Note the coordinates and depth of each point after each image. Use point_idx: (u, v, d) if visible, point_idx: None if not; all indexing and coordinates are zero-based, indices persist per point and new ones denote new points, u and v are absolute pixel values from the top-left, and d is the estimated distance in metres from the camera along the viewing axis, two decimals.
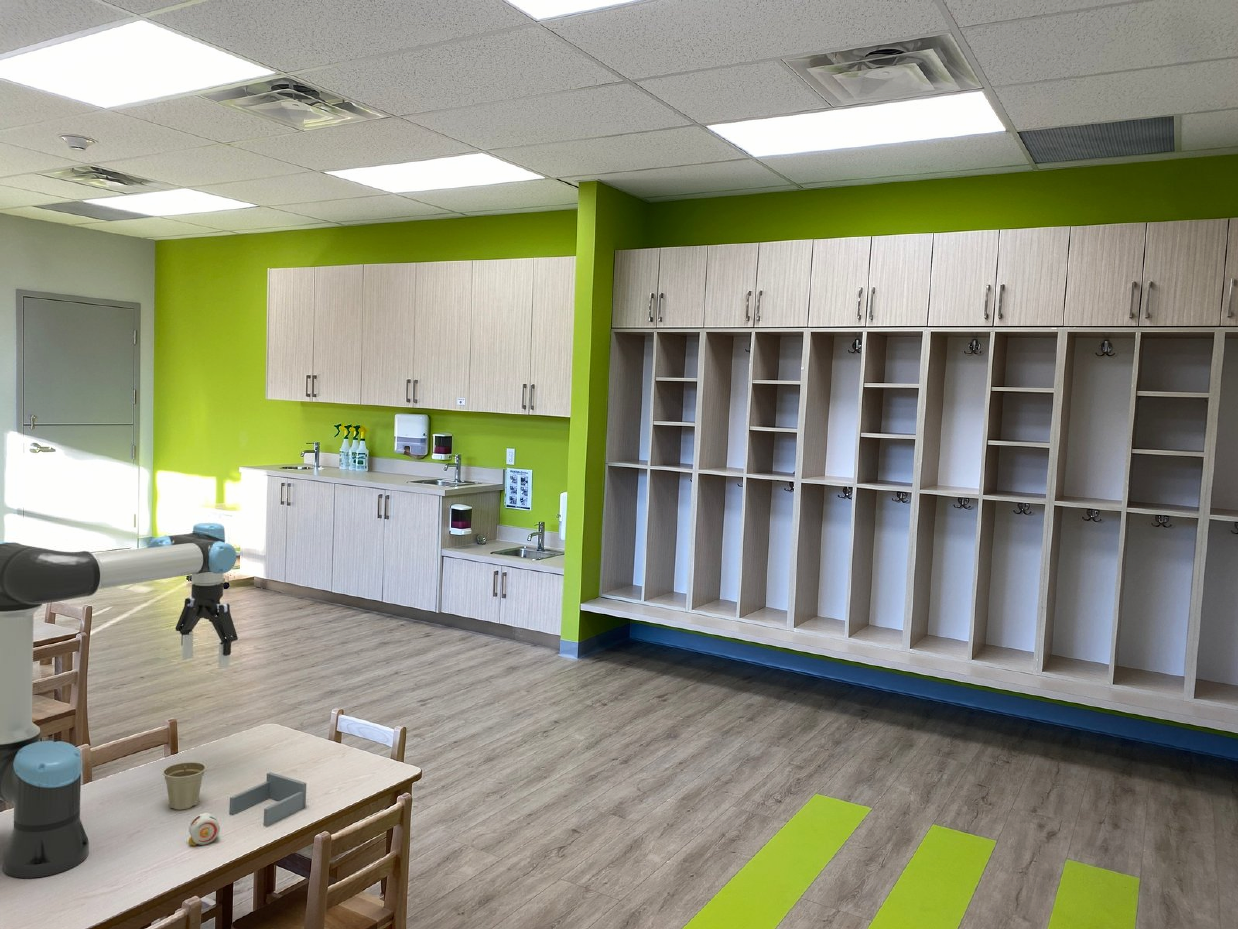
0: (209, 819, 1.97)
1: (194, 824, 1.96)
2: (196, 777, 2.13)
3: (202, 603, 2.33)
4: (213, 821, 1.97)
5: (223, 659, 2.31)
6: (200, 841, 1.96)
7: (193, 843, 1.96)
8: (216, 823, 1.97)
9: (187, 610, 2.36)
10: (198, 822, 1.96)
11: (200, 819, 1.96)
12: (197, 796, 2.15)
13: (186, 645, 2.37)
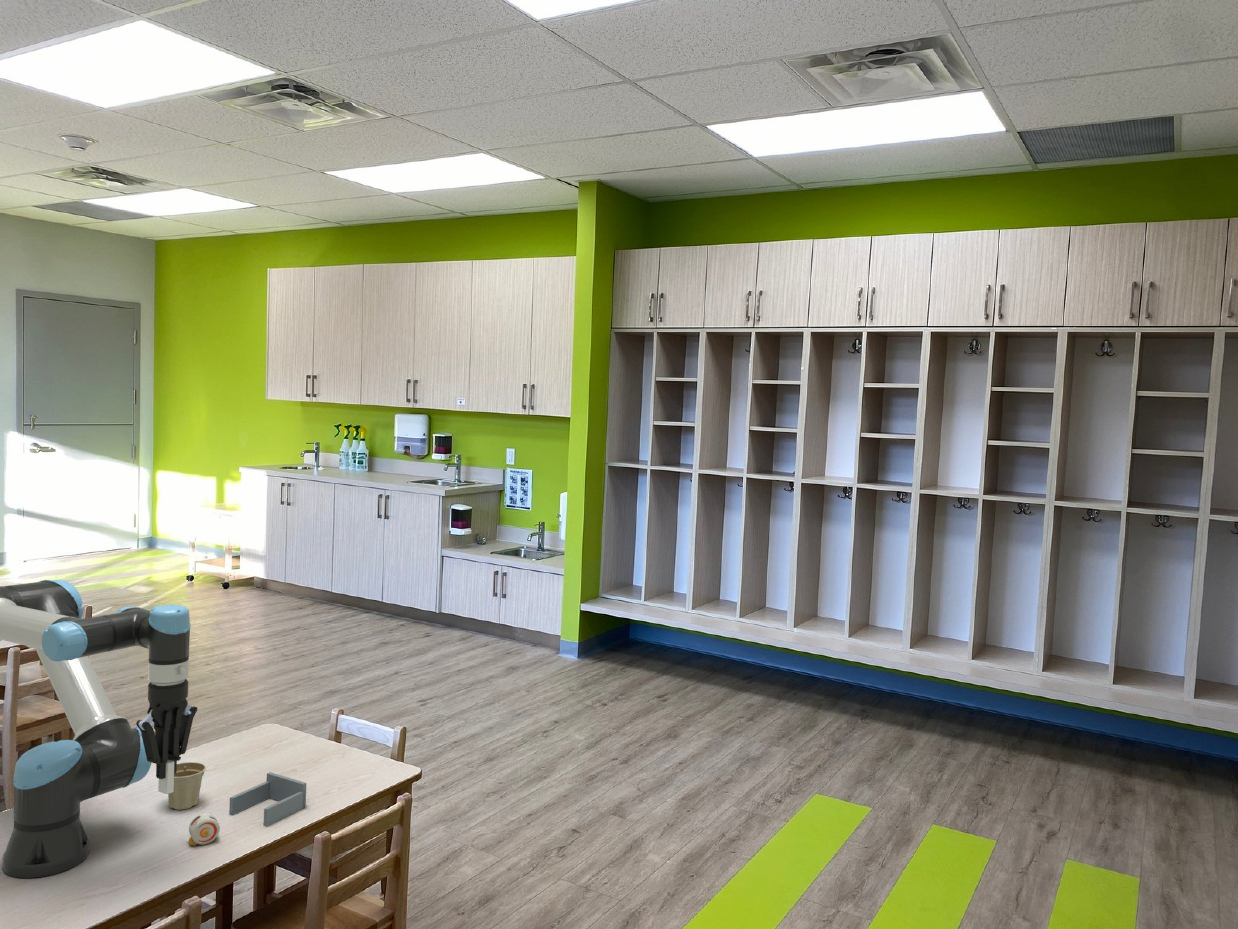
0: (209, 819, 1.97)
1: (194, 824, 1.96)
2: (196, 777, 2.13)
3: None
4: (213, 821, 1.97)
5: (161, 781, 1.88)
6: (200, 841, 1.96)
7: (193, 843, 1.96)
8: (216, 823, 1.97)
9: (181, 719, 1.91)
10: (198, 822, 1.96)
11: (200, 819, 1.96)
12: (197, 796, 2.15)
13: None
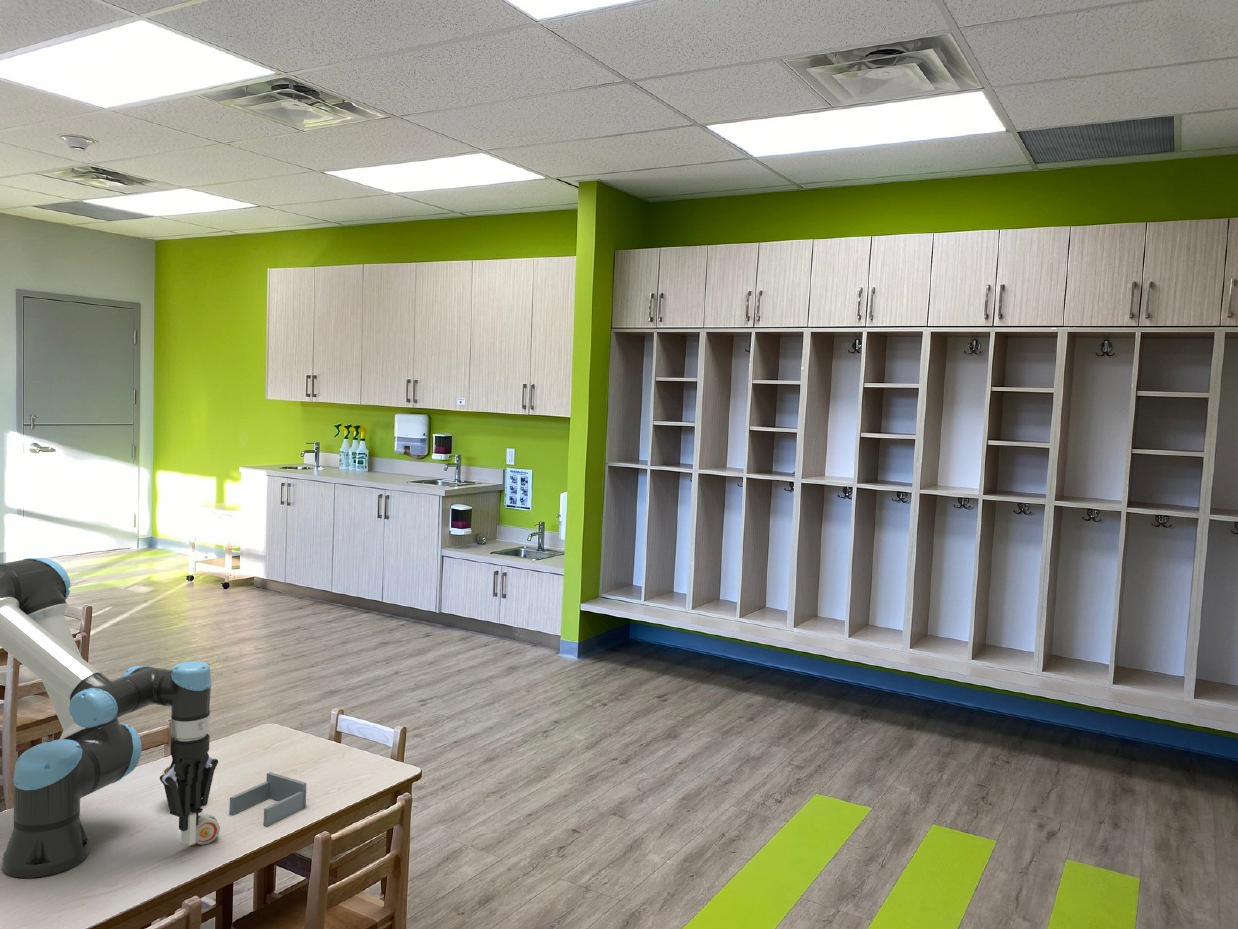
0: (209, 819, 1.97)
1: None
2: None
3: None
4: (213, 821, 1.97)
5: (183, 833, 1.93)
6: (200, 841, 1.96)
7: None
8: (216, 823, 1.97)
9: (202, 772, 1.97)
10: (198, 822, 1.96)
11: (200, 819, 1.96)
12: None
13: None
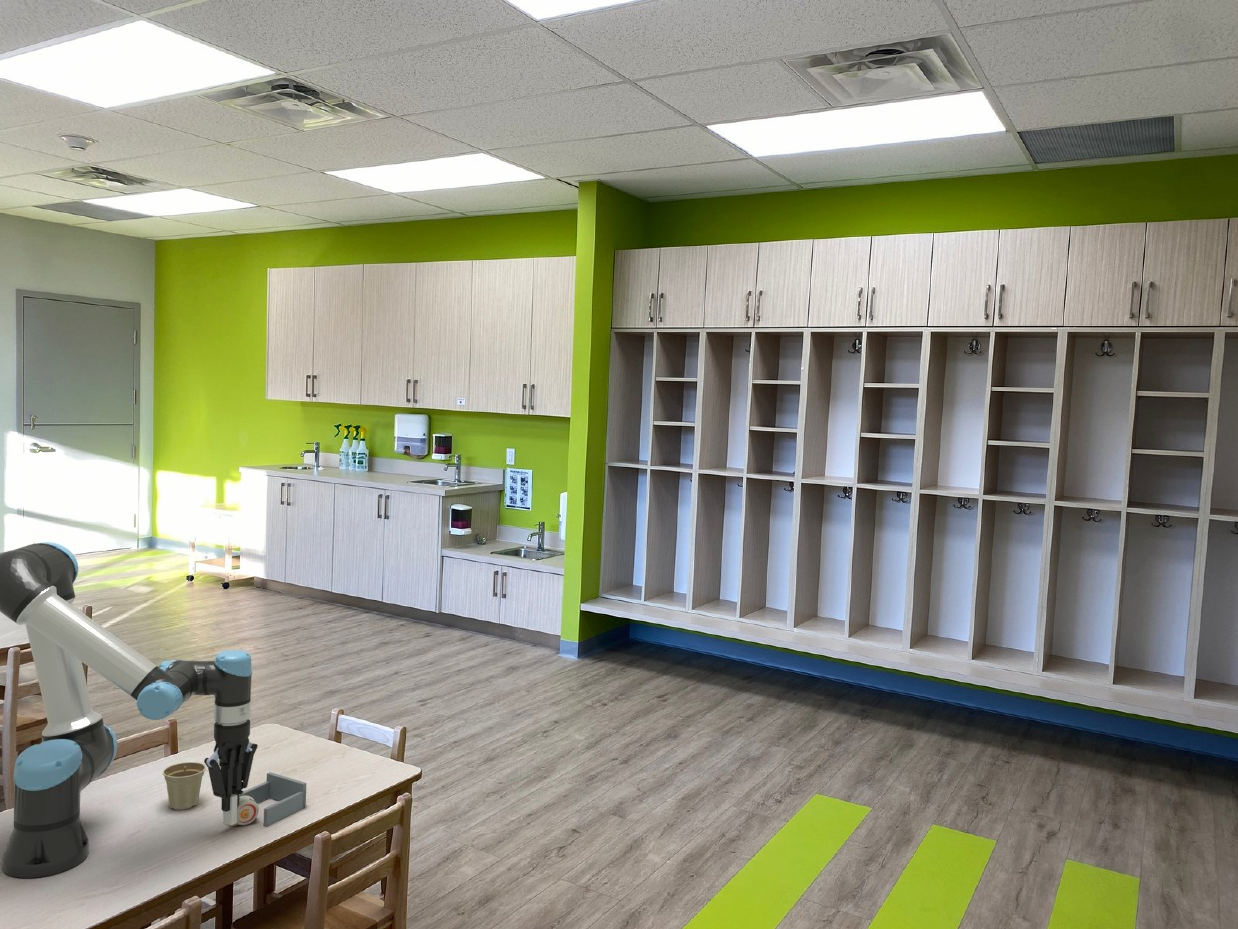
0: (249, 801, 2.06)
1: None
2: (196, 777, 2.13)
3: None
4: (253, 803, 2.07)
5: (225, 813, 2.03)
6: (241, 822, 2.05)
7: (234, 824, 2.05)
8: (255, 805, 2.07)
9: None
10: None
11: (240, 801, 2.06)
12: (197, 796, 2.15)
13: None
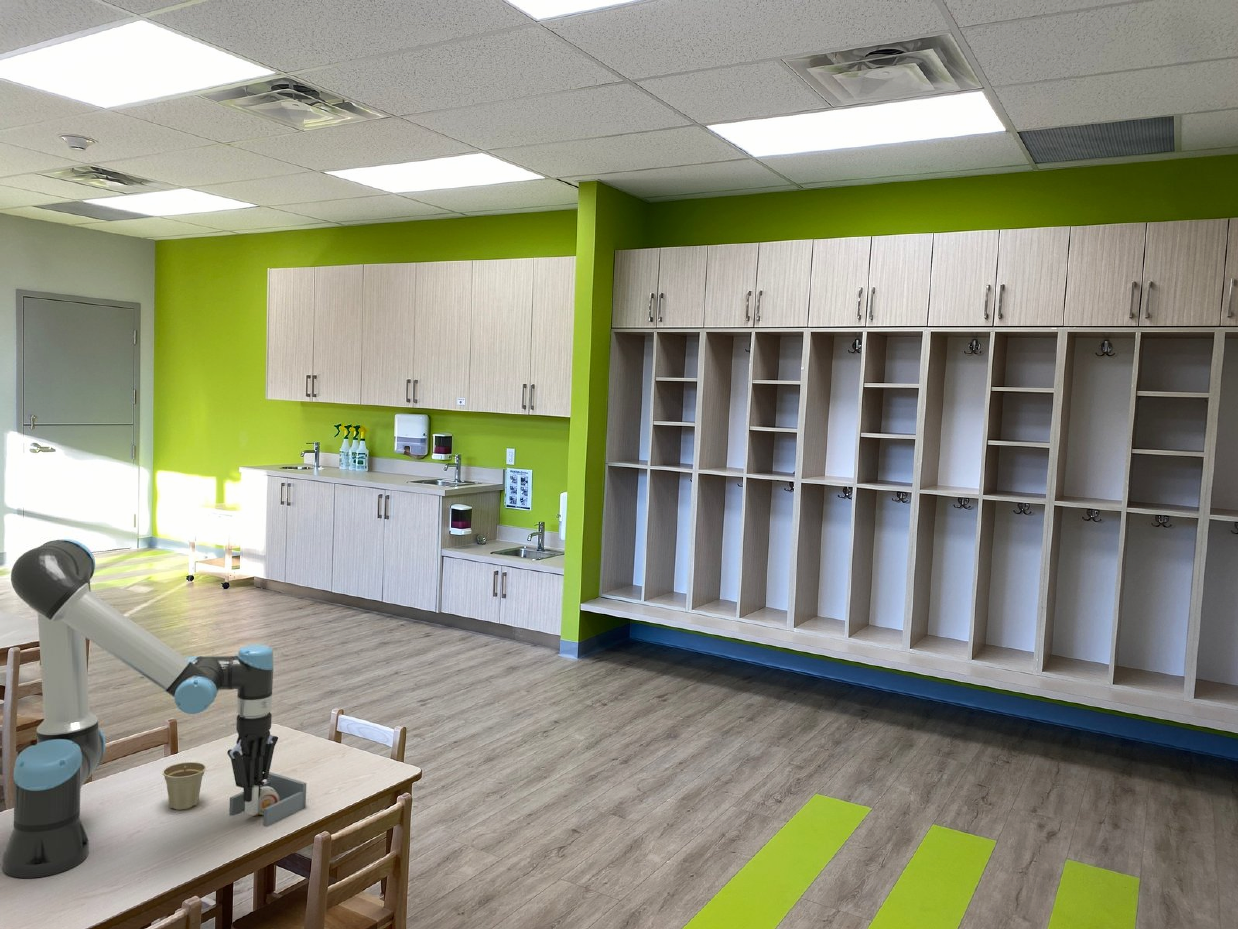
0: (270, 791, 2.12)
1: None
2: (196, 777, 2.13)
3: None
4: (274, 793, 2.12)
5: (247, 804, 2.09)
6: (262, 812, 2.11)
7: None
8: (276, 795, 2.13)
9: None
10: (260, 794, 2.11)
11: (262, 791, 2.12)
12: (197, 796, 2.15)
13: None
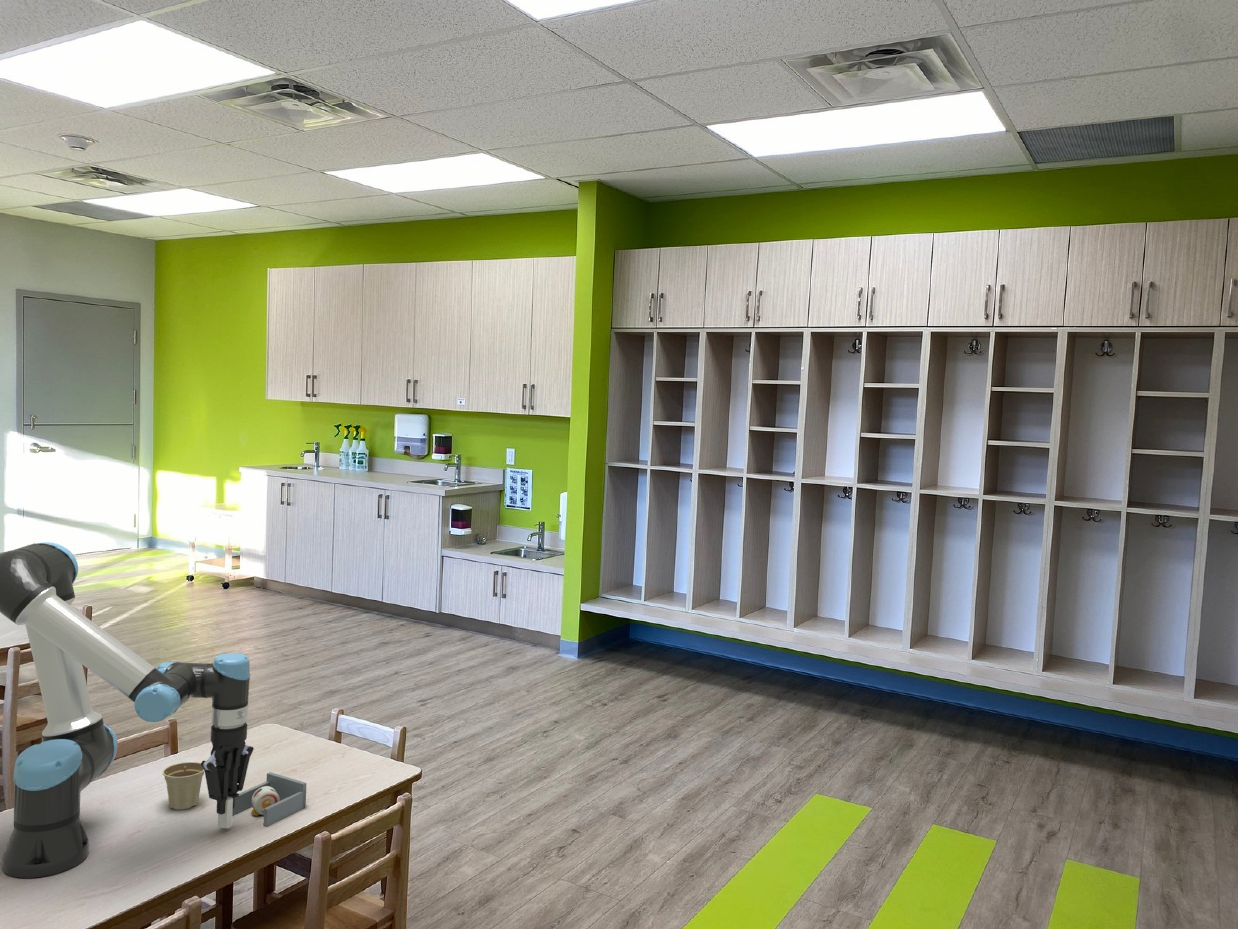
0: (270, 791, 2.12)
1: (257, 796, 2.11)
2: (196, 777, 2.13)
3: None
4: (274, 793, 2.12)
5: (220, 816, 2.03)
6: (262, 812, 2.11)
7: (256, 813, 2.11)
8: (277, 795, 2.13)
9: None
10: (260, 794, 2.11)
11: (262, 791, 2.12)
12: (197, 796, 2.15)
13: None
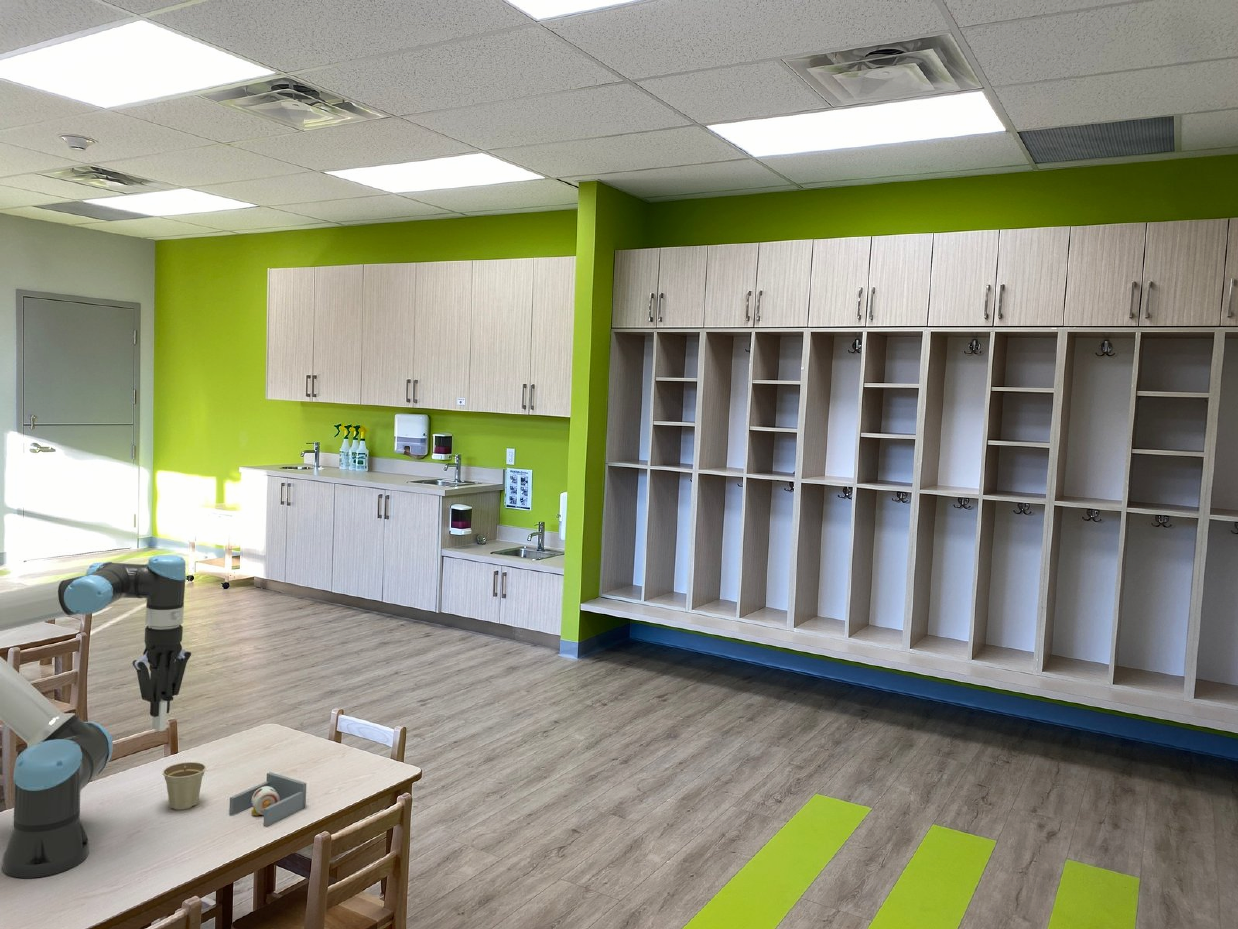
0: (270, 791, 2.12)
1: (257, 796, 2.11)
2: (196, 777, 2.13)
3: None
4: (274, 793, 2.12)
5: (154, 719, 2.01)
6: (262, 812, 2.11)
7: (256, 813, 2.11)
8: (276, 795, 2.13)
9: (175, 663, 2.04)
10: (260, 794, 2.11)
11: (262, 791, 2.12)
12: (197, 796, 2.15)
13: None
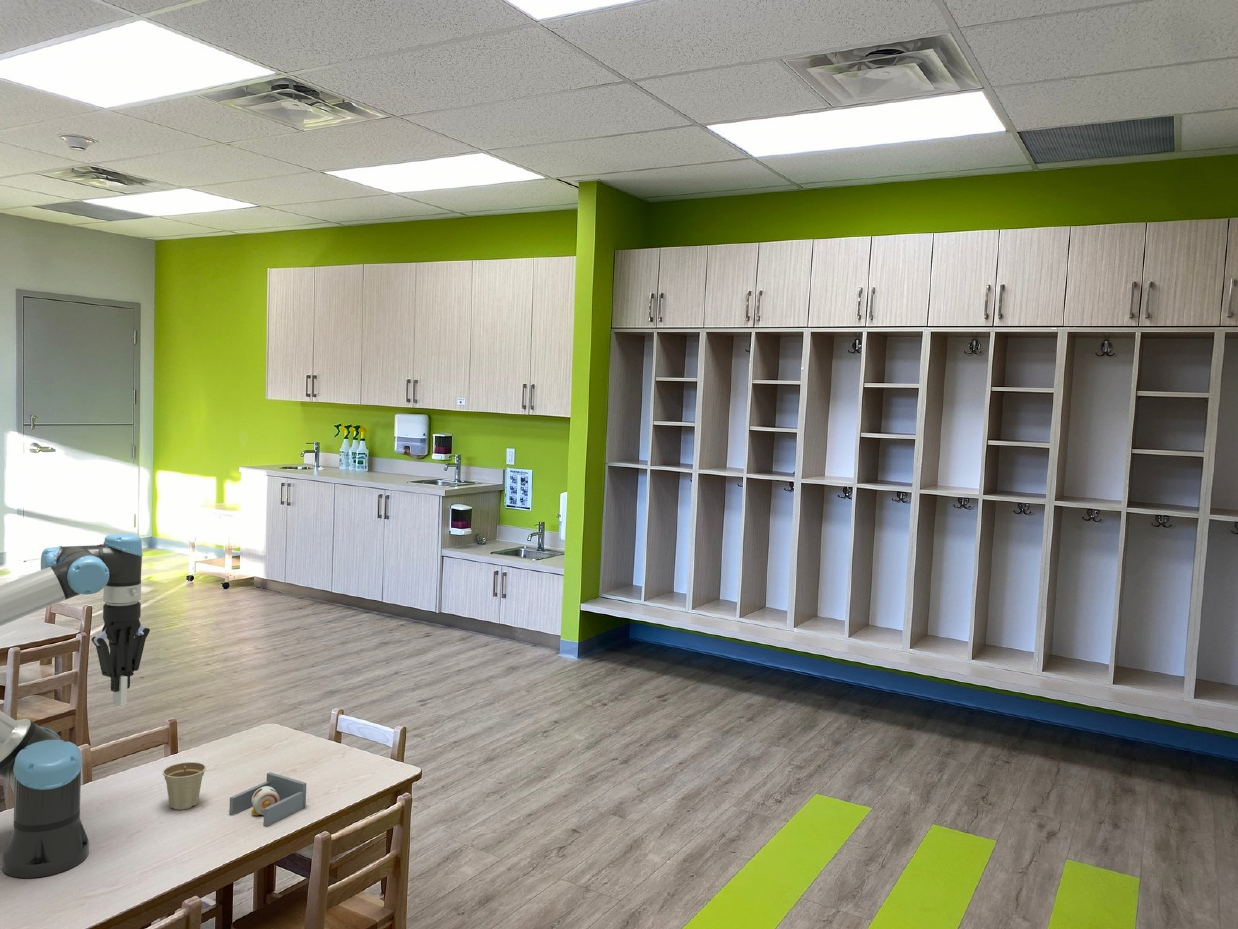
0: (270, 791, 2.12)
1: (257, 796, 2.11)
2: (196, 777, 2.13)
3: None
4: (274, 793, 2.12)
5: (115, 694, 2.05)
6: (262, 812, 2.11)
7: (256, 813, 2.11)
8: (276, 795, 2.13)
9: (134, 639, 2.09)
10: (260, 794, 2.11)
11: (262, 791, 2.12)
12: (197, 796, 2.15)
13: None
